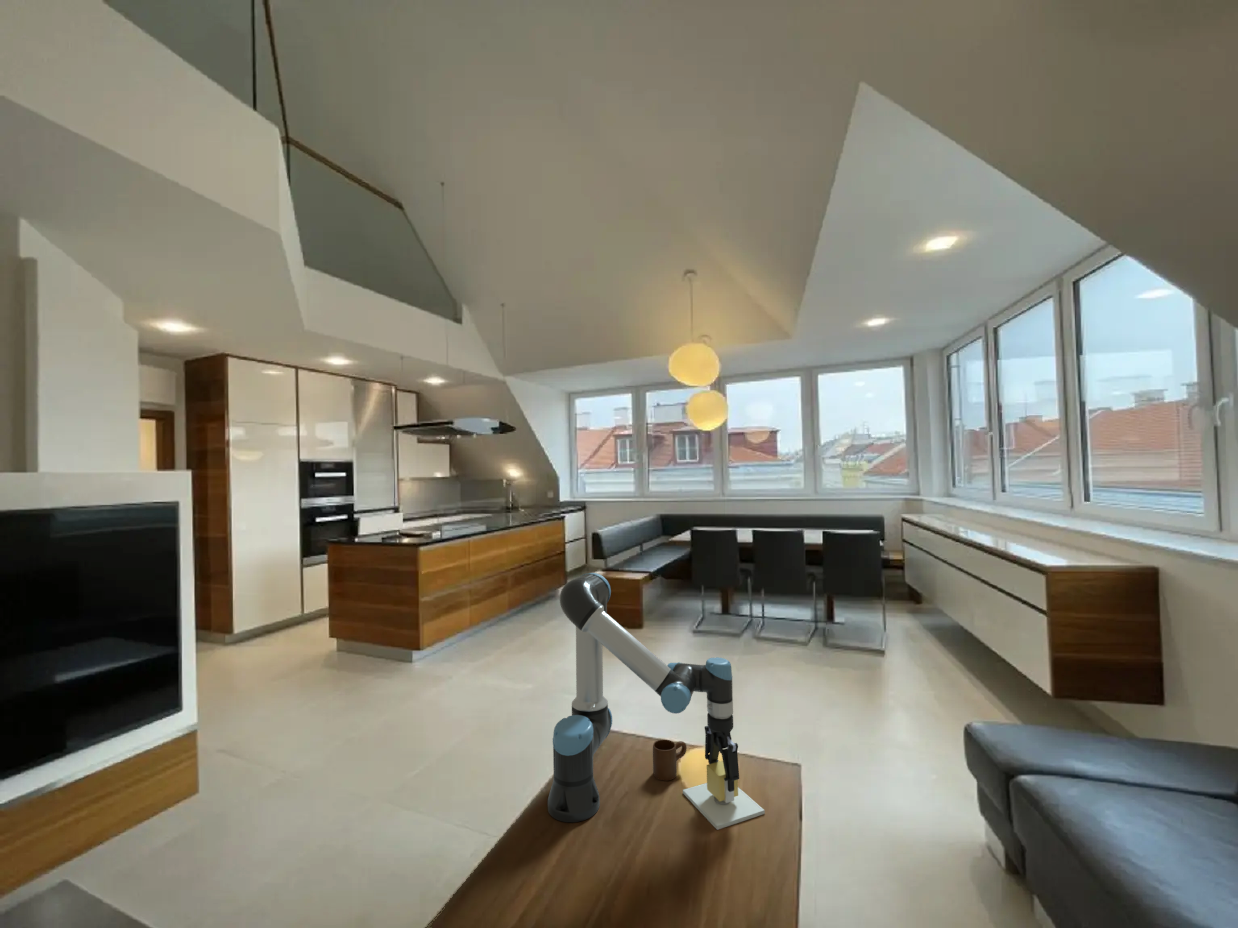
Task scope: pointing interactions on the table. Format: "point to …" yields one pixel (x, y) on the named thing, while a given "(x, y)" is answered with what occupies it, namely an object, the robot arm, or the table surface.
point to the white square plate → (723, 806)
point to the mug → (666, 758)
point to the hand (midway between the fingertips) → (722, 793)
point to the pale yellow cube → (718, 780)
